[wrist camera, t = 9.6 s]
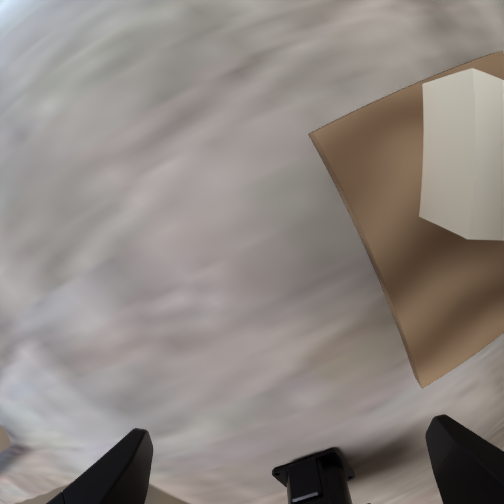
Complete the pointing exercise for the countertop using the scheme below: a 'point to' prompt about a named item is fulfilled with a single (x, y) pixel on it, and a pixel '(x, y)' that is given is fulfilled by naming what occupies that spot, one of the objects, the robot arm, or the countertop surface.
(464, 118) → the white slotted box
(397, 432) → the countertop surface
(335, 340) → the countertop surface
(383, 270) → the base board
